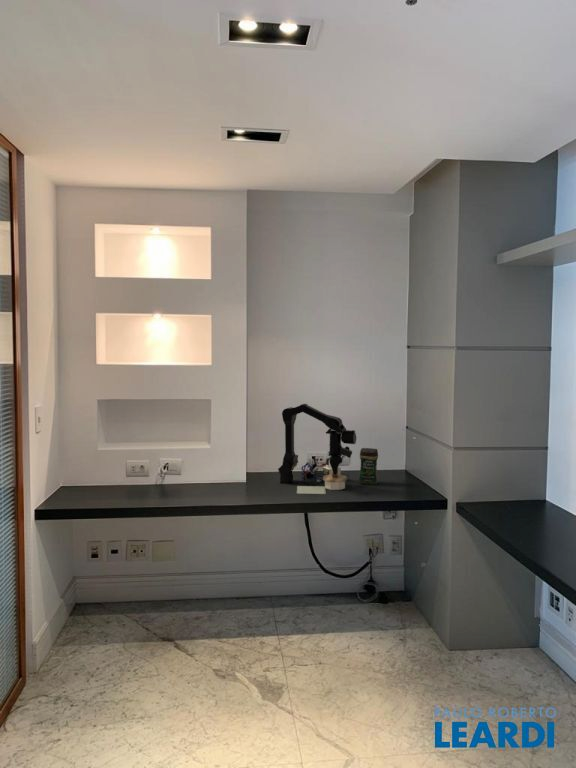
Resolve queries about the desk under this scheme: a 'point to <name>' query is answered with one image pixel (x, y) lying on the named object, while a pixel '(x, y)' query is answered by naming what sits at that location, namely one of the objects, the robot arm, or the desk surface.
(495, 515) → the desk surface
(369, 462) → the coffee jar
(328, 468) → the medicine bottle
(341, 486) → the bowl
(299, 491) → the mat
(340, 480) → the lid
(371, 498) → the desk surface
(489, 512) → the desk surface
